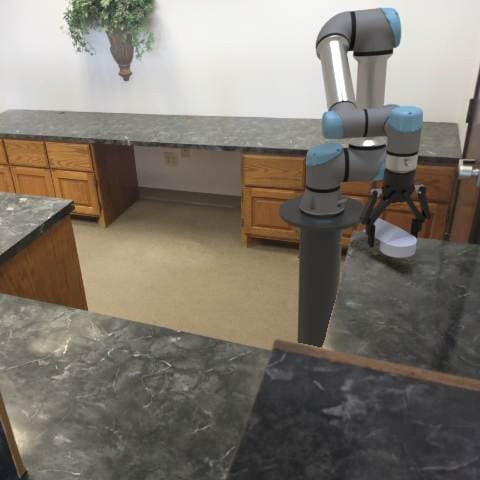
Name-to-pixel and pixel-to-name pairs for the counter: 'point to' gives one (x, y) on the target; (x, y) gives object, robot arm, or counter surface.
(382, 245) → the wedge on round base
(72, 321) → the counter surface
